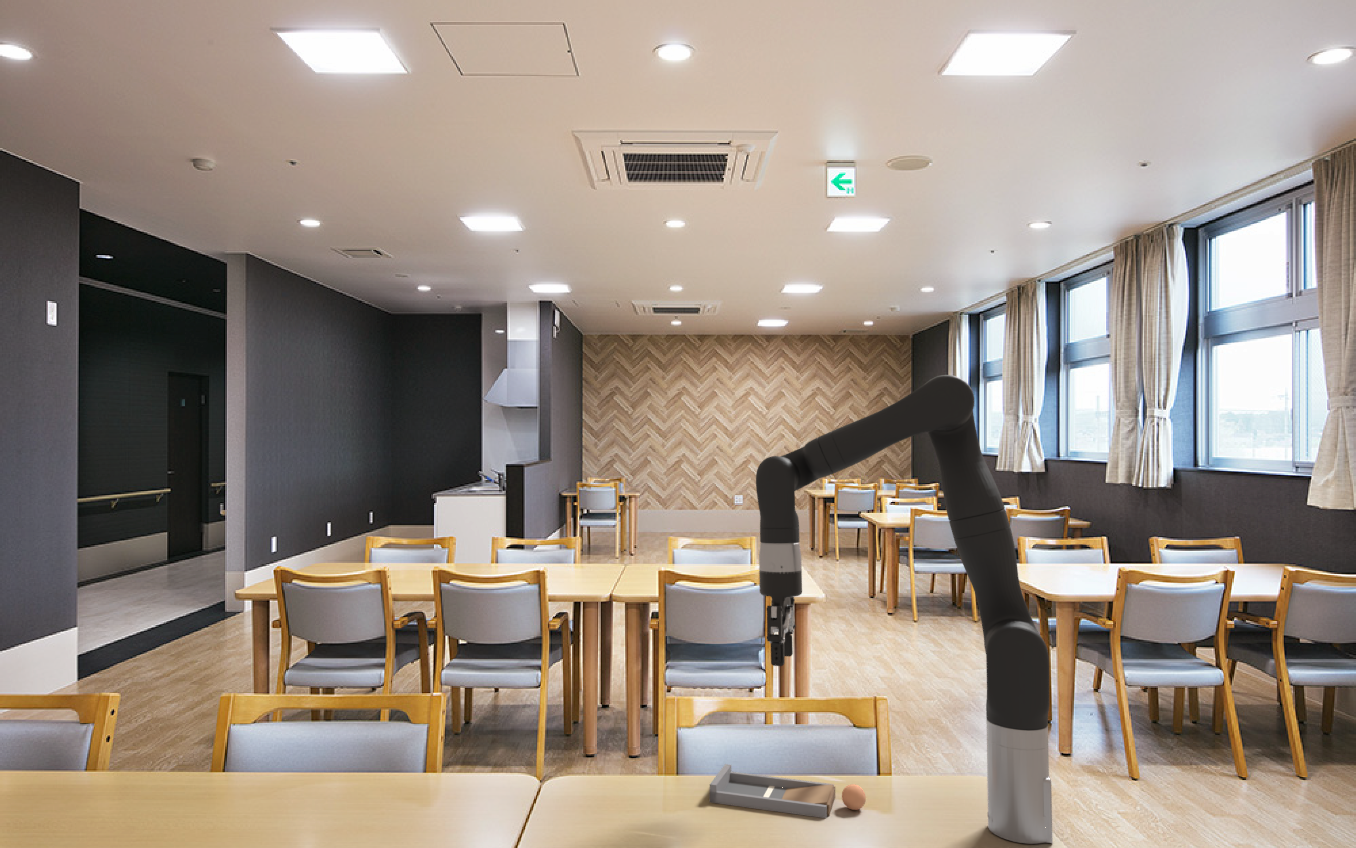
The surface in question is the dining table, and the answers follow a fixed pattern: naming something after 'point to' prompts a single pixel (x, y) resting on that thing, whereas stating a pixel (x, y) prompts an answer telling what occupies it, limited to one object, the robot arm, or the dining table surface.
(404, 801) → the dining table surface
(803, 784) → the lane
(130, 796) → the dining table surface
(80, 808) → the dining table surface
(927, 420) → the robot arm
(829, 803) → the ramp
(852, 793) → the ball
